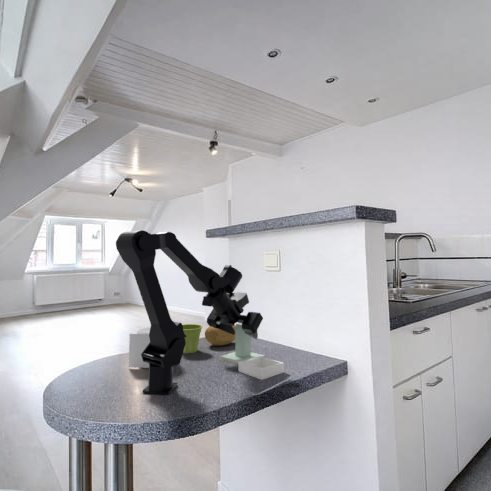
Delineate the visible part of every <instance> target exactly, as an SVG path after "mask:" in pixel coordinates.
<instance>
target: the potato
mask: <svg viewBox="0 0 491 491" xmlns="http://www.w3.org/2000/svg"><path fill="white" fill-rule="evenodd" d="M232 327H233V329H234V331H235V334H234V335H232V334H229V333H227V332H224V331H222V330H219V329H217V328H214V327H212V326H208V327H207V328H206V329H205V331H204V337H205V339H206V341H207V342H208V343H209V344H210V345H212V346H214V347H221V346H226V345H229V344H231V343H233V342H234V341H235V339H236V324H234V326H232Z"/></svg>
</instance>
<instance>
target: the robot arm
mask: <svg viewBox="0 0 491 491" xmlns="http://www.w3.org/2000/svg"><path fill="white" fill-rule="evenodd" d="M115 247H116V250H117V252H118V254H119V255H120V258H121V260H122V261H123V263H125V264H126V265H127V267H128V268H129V269H130V270H131V271H132V273H133V275H134V279H135V281H136V285H137V287H138V291H139V294H140V296H141V300H142V302H143V304H144V308H145V311H146V313H147V317H148V320H149V322H150V327H151V328H150V327H149V328H150V333H149V338H150V343H149V344H148V346H147V347H146V348H145V350H144V351H143V352H142V354H141V357H142V360H143V362H147V363H149V368H148V385H147V386H145V388H144V389H142V393H144V394H146V393H147V394H156V395H157V394H158V395H170V394H171V393H172V392H173V391H174V389H175V388H176V387H178V382H173V379H174V367H175V366H179V365H181V360H182V357H183V354H184V353H183V351H184V347H185V345H186V341H185V338H184V337H187V336H186V335H185V333H184V331H183V325H184V324H182V322H179V321H174V320H173V319H172V317H171V315H170V311H169V309H168V306H167V301H166V300H165V296H164V293H163V290H162V287H161V284H160V281H159V278H158V274H157V271H156V268H155V259H156V254H157V250H160V251H162V252H163V253H164V254H165V255H166V256H167V257H168V258H169V259H170V260H171V261H172V262H173V263H174V264H175V265H176V266H178V268H179V269H180V270H181V271H183V273H184V274H185V275H186V276H187V279H188V283H189V284H190V285H191V287H192V288H193V289H194V290H195V291H196V292H198V293H200V292H201V293H207V294H206V295H204V296H203V298H202V301H201V306H203V307H209V308H211V307H212V310H211V312H210V313H209V314H208V316H207V318H206V324H207V325H208V327H210V326H212V327H214V328H217V329H219V330H222V331H224V332H227V333H229V334H232V335H234V334H235V331H234V329H233V327H232V326H234V325H236V324H238V323H242V329H243V331H245V332H244V333H246V334H247V335H249V336H251V339H255V340H257V339H258V338H259V336H258V335H259V333H258V330H259V327H260V325H261V324H262V321H263V319H264V317H263V315H262V314H261V312H255V311H248V312H247V314H246V315H244V314H243V312H244V311H245V309H244V307H246V305H248V304H249V303H250V300H249V297H248V293H247V292H241V291H240V292H239V291H238V292H237V291H236V292H235V290H236V288H237V286H238V285H239V283H240V282H241V280H242V278H243V273H242V272H241V271H240V270H238V269H237V268H235V267H233V266H232V264H225V265H224V266H223V268H222V270H221V272H220V273H218V272H216V271H215V270H214V269H212V268H210V267H208V266H206V265H204V264H202V263H201V262H200V261H199V260H198V259H197V258H196V257H195V256H194V254H192V253H191V251H189V250H188V249H187V248H186V246H185V245H184V244H183V243H182V242H181V241H180V240H179V239H178V238H177V236H176V234H175V233H173V232H172V231H162V232H157V233H151V232H148V231H146V230H132V231H124V232H122V233H120V234H119V235H118V237H117V239H116V240H115ZM161 354H162V355H164V357H162V356H160V355H161Z"/></svg>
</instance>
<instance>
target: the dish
mask: <svg viewBox="0 0 491 491" xmlns="http://www.w3.org/2000/svg"><path fill="white" fill-rule="evenodd" d="M238 373H242V374H244V375H247V376H250V377H253V378H255V379H258V380H261V381H263V380H266V379H268V378H271V377H275V376H277V375H281V374H284V373H285V363H284V362H282V361H278V360H275V359H272V358H268V357H266V356H265V357H262V356H259V357H256V358H252V359H248V360H244V361H240V362H239V365H238Z"/></svg>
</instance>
